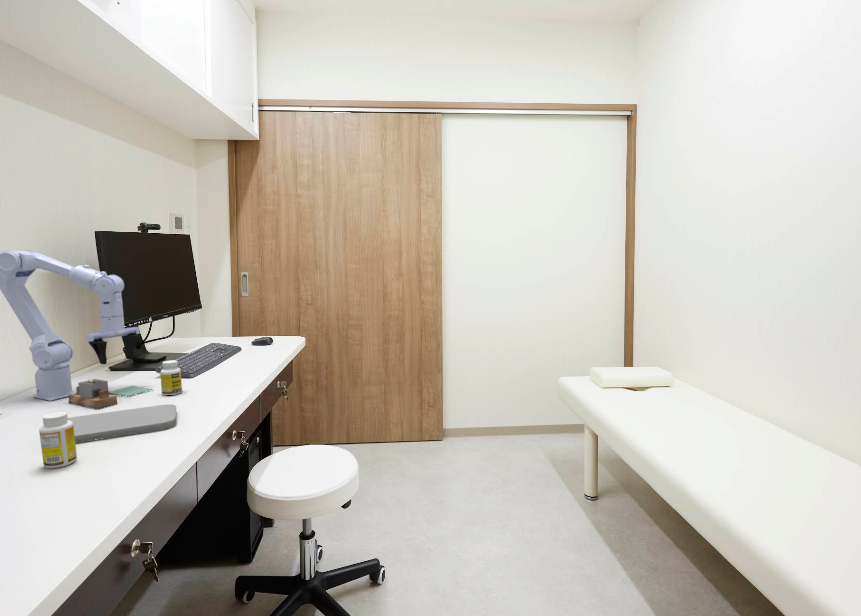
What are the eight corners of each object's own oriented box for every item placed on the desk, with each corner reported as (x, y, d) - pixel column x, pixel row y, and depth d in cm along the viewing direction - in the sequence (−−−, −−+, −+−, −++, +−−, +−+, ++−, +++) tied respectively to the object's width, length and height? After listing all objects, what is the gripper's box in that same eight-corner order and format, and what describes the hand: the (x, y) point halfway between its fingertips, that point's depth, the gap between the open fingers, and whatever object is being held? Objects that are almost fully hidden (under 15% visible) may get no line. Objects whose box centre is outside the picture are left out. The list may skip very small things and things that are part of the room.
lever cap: (79, 396, 143) (78, 380, 142) (96, 392, 147) (94, 376, 146) (92, 399, 140) (90, 382, 140) (108, 394, 144) (107, 378, 144)
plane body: (68, 403, 145) (67, 388, 145) (88, 398, 150) (87, 383, 150) (97, 409, 139) (95, 393, 138) (117, 404, 144) (116, 388, 143)
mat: (107, 393, 155) (107, 392, 155) (132, 386, 162) (132, 385, 162) (127, 397, 150) (127, 395, 150) (153, 390, 157) (153, 388, 157)
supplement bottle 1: (72, 455, 107) (67, 408, 106) (81, 462, 104) (75, 413, 103) (40, 464, 103) (34, 415, 102) (47, 472, 100) (42, 421, 98)
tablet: (59, 427, 126) (58, 418, 126) (176, 411, 137) (176, 403, 137) (43, 450, 112) (42, 440, 111) (176, 430, 123) (175, 420, 123)
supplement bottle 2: (174, 396, 150) (171, 363, 149) (157, 396, 151) (155, 363, 150) (186, 391, 155) (183, 359, 154) (170, 390, 156) (168, 359, 155)
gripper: (94, 320, 144) (99, 367, 145) (144, 313, 156) (147, 357, 158) (80, 318, 147) (85, 365, 149) (130, 312, 160) (133, 355, 161)
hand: (116, 361), depth 153 cm, fingers open, 7 cm apart
